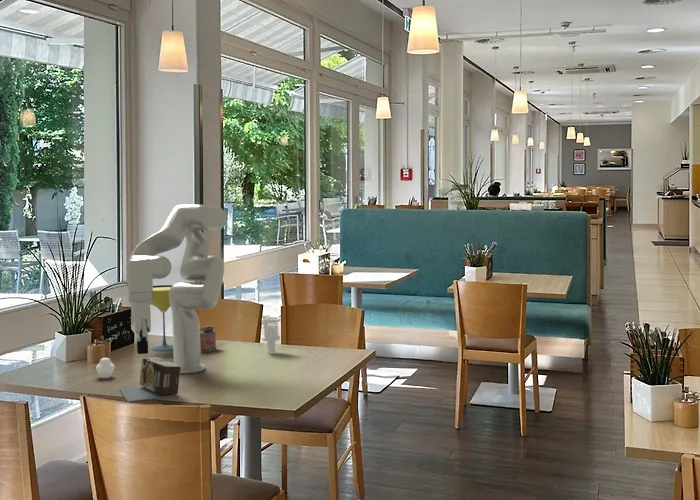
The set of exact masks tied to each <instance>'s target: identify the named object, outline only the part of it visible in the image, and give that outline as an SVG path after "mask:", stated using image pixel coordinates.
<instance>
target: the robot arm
mask: <svg viewBox="0 0 700 500" xmlns="http://www.w3.org/2000/svg"><path fill="white" fill-rule="evenodd" d="M226 222H227V214H226V212H225V211H224V209H223V208H221V207H220V206H215V205H214V206H213V205H208V204H207V205H206V204H178V205H175V206H174V207H173V208H172V209H171V211H170V212H169V214H168V216H167V217H166V219H165V221H164V222H163V224H162V225H161V227H160V229H159V230H158V231H157V232H155V233H153V234H151V235H150V236H148V237H147V238H145V239H144V240H143V241H142V240H141V242H140V243H138V244H137V245H136V246H135V248H134V249H133V250H132V253H131V254H130V256H129V258H128V261H127V263H126V264H127V265H126V270H127V280H128V286H127V287H128V303H130V304H131V308H130V311H131V312H130V316H131V317H130V318H131V319H130V320H131V321H130V322H131V324H130V327H131V328H130V329H131V330H132V332H133V333H134V334H135V335H136V340H137V341H136V354H138V355H146V354H148V353H149V340H148V336H149V335H148V333H150V332H151V331H152V322H151V321H152V320H151V316H152V315H151V304H150V302H152V301H153V286H154V285H153V283H154V282H153V281H154V280H153V279H155V280H156V279H159V280H160V279H164V278H166V277H168V276H169V275H170V274H171V271H172V263H171V262H172V261H170V259H169V258H168V257H166V256H164V255H163V256H162V255H160V254H162V253H166V252H169V251H172V250H174V249H177V248H178V247H180V245H181V244H182V243H183V241H184V239H185V243H186V244H185V248H184V252H183V257H182V259H181V264H180V267H179V268H180V269H179V275H180V277H181V278H182V280H184V281H181V282H176V283H174V284H172V285H173V286H172V287H171V288H170V290H169V301H170V305H171V306H170V308H171V317H172V318H171V319H172V343H173V344H172V345H173V350H172V354H173V364H175V365H178V366H180V374H193V373H200V372H202V371H204V370H205V369H206V365H205V364H204V363H202V361H201V359H202V356H201V353H202V352H200V333H201V322H200V321H201V320H200V317H199V315H198V314H197V312H196V310H206V311H207V310H208V311H209V310H212V309H215V307H216V306H217V303H218V301H219V299H220V292H221V289H222V284H223V279H224V275H225V264H224V261H223V259H222V258H221V257H220V256H217V255H213V254H211V255H210V254H209V252H210V242H209V241H208V238H207V237H206V235H205V234H204V233H203V231H220V230H222V229H223V228H224V227H225V226H226Z"/></svg>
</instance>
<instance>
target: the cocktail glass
mask: <svg viewBox="0 0 700 500" xmlns="http://www.w3.org/2000/svg"><path fill="white" fill-rule="evenodd" d="M173 285H174V284H169V285H167V284H166V285H165V284H162V285H153V301H152V302H150V306H151V305H152V306H153V307H156V308H157V309H158V310H159V311H160V313H162V324H163V325H162V327H163V337H162V338H163V339H162V344H160V345H157V346H156V345H155V346H152V347H150V350H152V351H153V352H167V351H168V352H169V351H173V344H167V340H166V324H165V318H166V317H165V313H166V312H167V311H168V310H169V308H171V305H170V301H169V290H170V288H171V287H172V286H173Z"/></svg>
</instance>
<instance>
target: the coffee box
mask: <svg viewBox="0 0 700 500" xmlns="http://www.w3.org/2000/svg"><path fill="white" fill-rule="evenodd" d="M180 377H181V373H180V366H178V365H175V364H174V362H171V361H168V360H166V359H164V358H160V357H142V358H141V368H140V375H139V382H138V383H139V385H140V386H143V387H145V388H147V389H149V390H151V391H153V392H155V393H157V394H159V395H173V396H174V395H178V393H179V384H180Z"/></svg>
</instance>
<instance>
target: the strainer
mask: <svg viewBox="0 0 700 500" xmlns="http://www.w3.org/2000/svg"><path fill="white" fill-rule="evenodd" d="M261 317H262V318H261V323H262V325H263V335H262V336H261V341H262V342H263V341H264V342H266V346H267V347H266V349H267V352H266V353H267V354H268V355H274V354H276V342H277V341H280V340H281V336H280V335H279V325H278V324H279V323H278V322H281V320H280V319H281V318H280V317H279V316H276V317H275V316H271V315H267V314H263V315H261Z"/></svg>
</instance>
